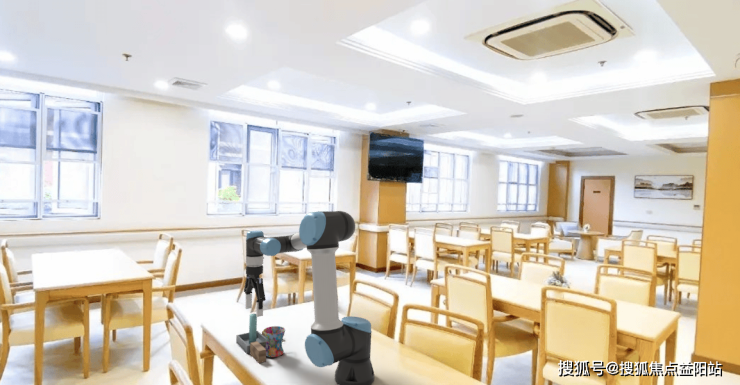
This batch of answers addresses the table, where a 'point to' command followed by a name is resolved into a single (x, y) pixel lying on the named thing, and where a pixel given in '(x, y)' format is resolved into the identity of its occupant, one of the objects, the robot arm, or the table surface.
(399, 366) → the table surface
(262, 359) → the block
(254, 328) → the dowel
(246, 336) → the tray
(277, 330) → the mug
